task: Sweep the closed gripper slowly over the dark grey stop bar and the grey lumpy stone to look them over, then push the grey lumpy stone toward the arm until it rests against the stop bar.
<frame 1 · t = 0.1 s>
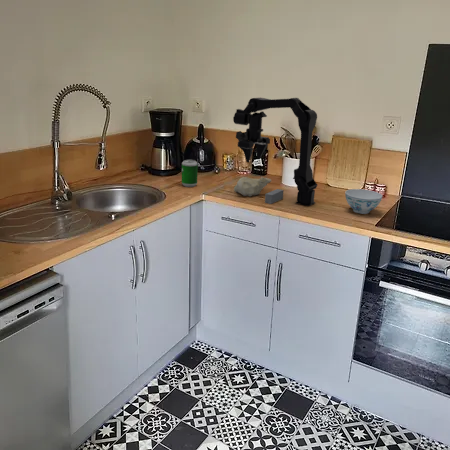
hand: (253, 160, 212), 15 cm above the worktop, tool pointing down, fingers open, 9 cm apart
soda can: (189, 185, 222), on the worktop
chinaware: (361, 211, 195), on the worktop
grey lumpy stone: (252, 194, 212), on the worktop
stop bar: (273, 200, 204), on the worktop
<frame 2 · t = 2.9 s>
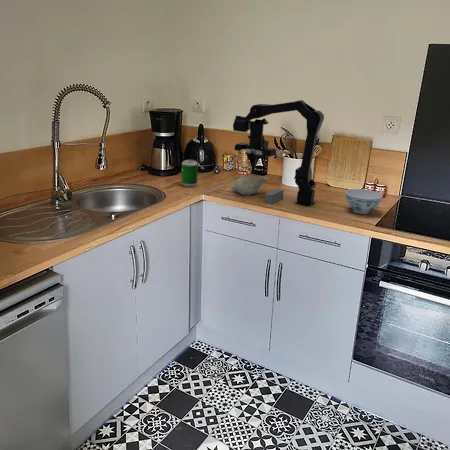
hand: (253, 168, 207), 12 cm above the worktop, tool pointing down, fingers closed
grey lumpy stone: (249, 193, 214), on the worktop
everything else where it was.
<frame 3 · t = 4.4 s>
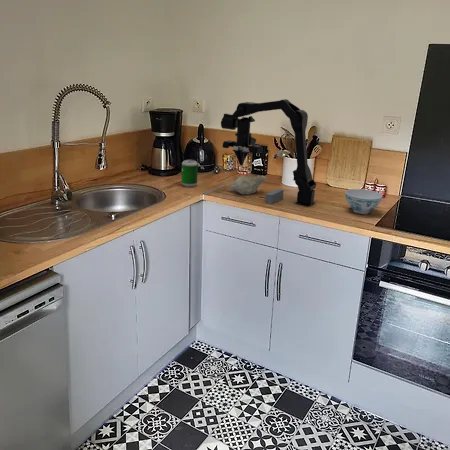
hand: (241, 165, 211), 12 cm above the worktop, tool pointing down, fingers closed
grey lumpy stone: (248, 193, 215), on the worktop
everything else where it was.
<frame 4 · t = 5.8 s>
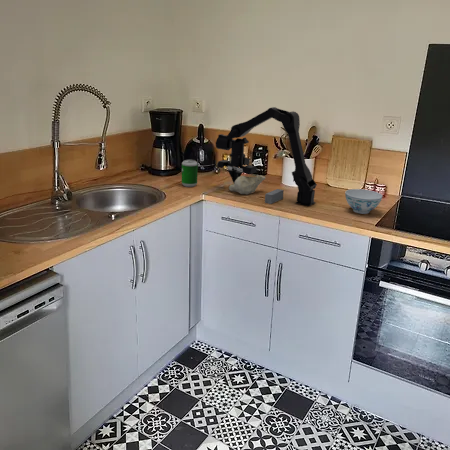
hand: (235, 184, 216), 3 cm above the worktop, tool pointing down, fingers closed
grey lumpy stone: (247, 192, 215), on the worktop, touching gripper
everything else where it was.
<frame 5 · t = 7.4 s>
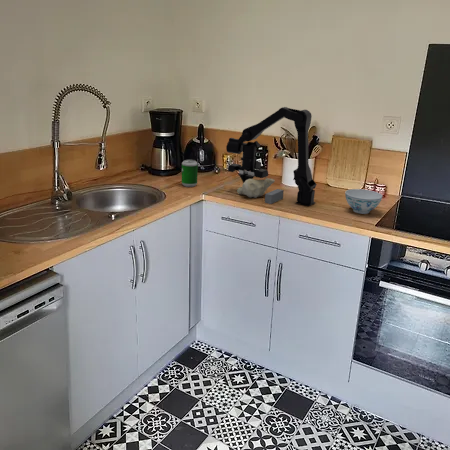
hand: (246, 188, 213), 2 cm above the worktop, tool pointing down, fingers closed
grey lumpy stone: (256, 196, 211), on the worktop
everything else where it was.
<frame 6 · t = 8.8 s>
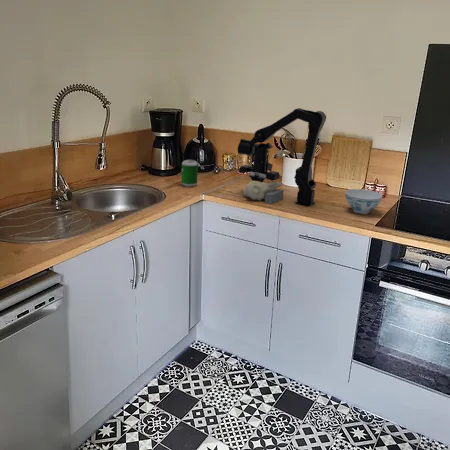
hand: (257, 190, 210), 2 cm above the worktop, tool pointing down, fingers closed
grey lumpy stone: (261, 198, 207), on the worktop, touching gripper, stop bar
everything else where it was.
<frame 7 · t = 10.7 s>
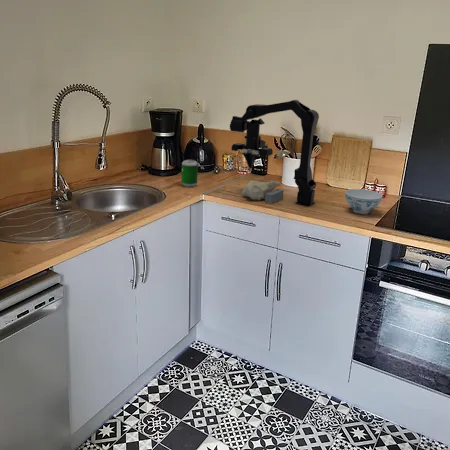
hand: (250, 168, 209), 12 cm above the worktop, tool pointing down, fingers closed
grey lumpy stone: (260, 198, 207), on the worktop
everything else where it was.
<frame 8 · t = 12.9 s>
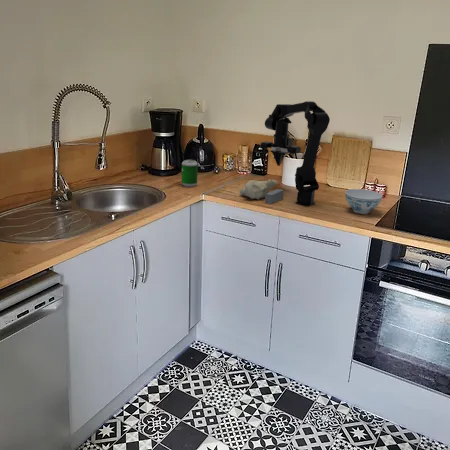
hand: (278, 165, 216), 12 cm above the worktop, tool pointing down, fingers closed
grey lumpy stone: (258, 197, 209), on the worktop
everything else where it was.
at the end: grey lumpy stone inside the target area (2.7 cm from its centre), on the worktop; grey lumpy stone moved 4.7 cm from its start; grey lumpy stone tilted 0° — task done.
